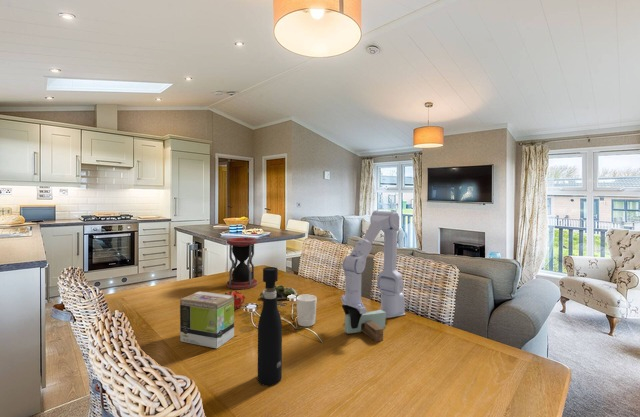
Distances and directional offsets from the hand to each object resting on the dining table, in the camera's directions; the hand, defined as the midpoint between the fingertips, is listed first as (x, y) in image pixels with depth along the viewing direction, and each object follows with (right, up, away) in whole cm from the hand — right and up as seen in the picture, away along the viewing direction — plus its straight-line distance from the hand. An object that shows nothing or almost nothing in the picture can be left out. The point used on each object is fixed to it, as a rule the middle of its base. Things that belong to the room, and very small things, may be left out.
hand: (352, 326), depth 111 cm
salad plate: (-32, -1, +40) cm, 51 cm away
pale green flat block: (+5, -2, +2) cm, 6 cm away
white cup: (-17, -2, +8) cm, 19 cm away
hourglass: (-54, +1, +56) cm, 78 cm away
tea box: (-50, -2, -6) cm, 51 cm away
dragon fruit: (-49, -1, +22) cm, 54 cm away
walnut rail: (+5, -2, +2) cm, 6 cm away
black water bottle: (-25, -4, -28) cm, 38 cm away
